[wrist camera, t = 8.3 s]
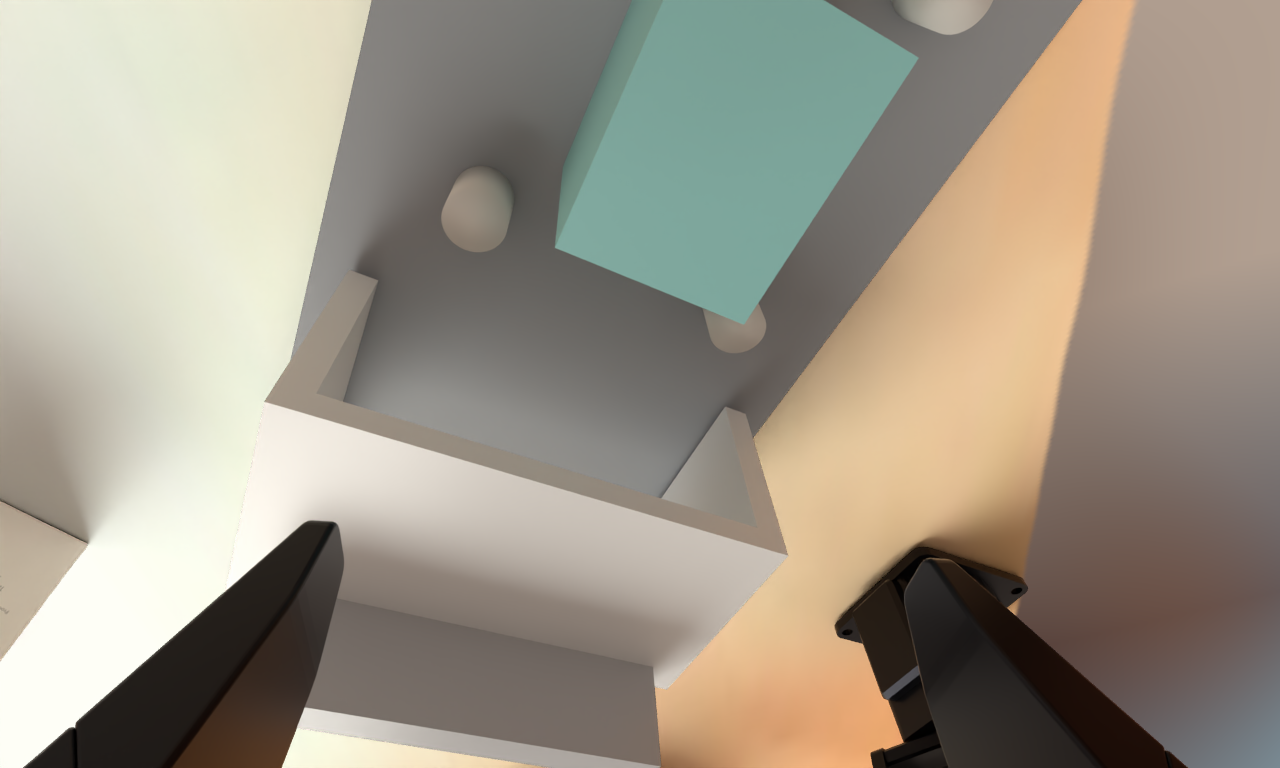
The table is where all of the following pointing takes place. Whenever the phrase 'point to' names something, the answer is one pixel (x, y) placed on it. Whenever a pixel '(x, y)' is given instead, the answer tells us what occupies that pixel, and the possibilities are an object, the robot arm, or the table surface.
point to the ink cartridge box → (29, 568)
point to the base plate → (575, 288)
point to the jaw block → (720, 141)
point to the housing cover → (497, 570)
